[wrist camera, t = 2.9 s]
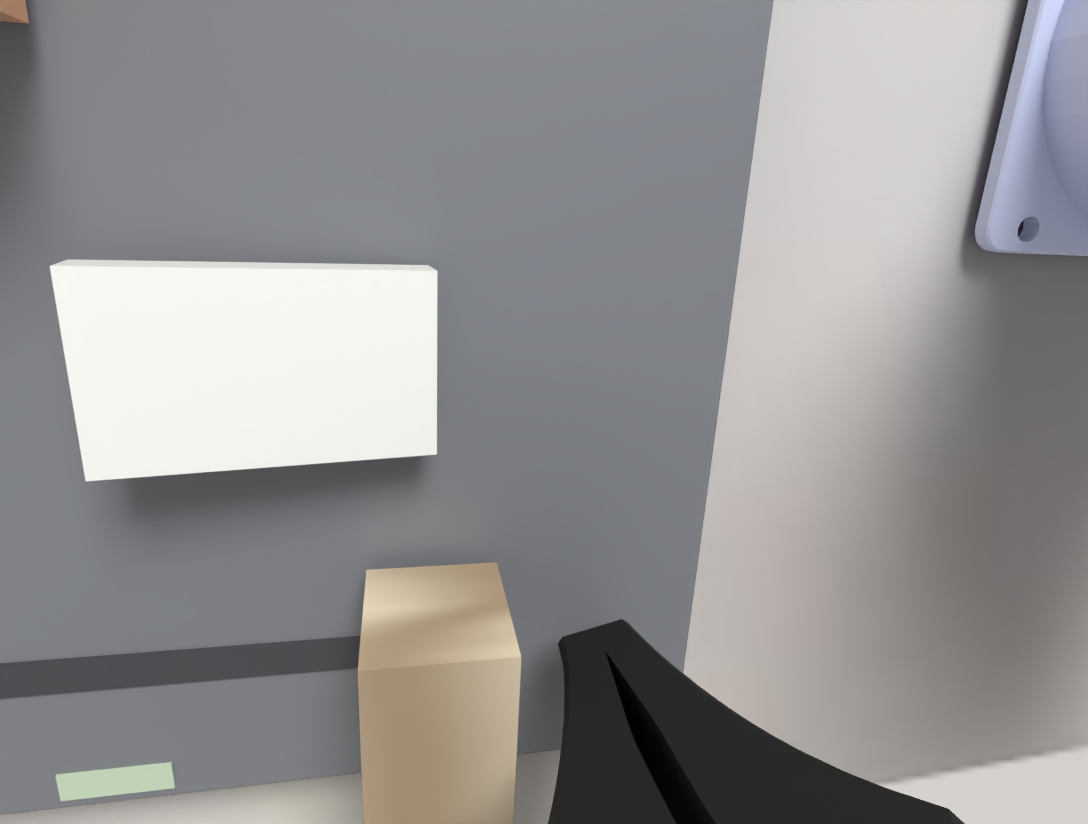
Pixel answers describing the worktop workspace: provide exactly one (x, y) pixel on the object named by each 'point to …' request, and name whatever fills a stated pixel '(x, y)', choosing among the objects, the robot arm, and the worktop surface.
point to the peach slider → (13, 11)
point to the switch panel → (462, 353)
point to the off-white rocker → (246, 363)
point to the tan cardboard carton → (438, 696)
